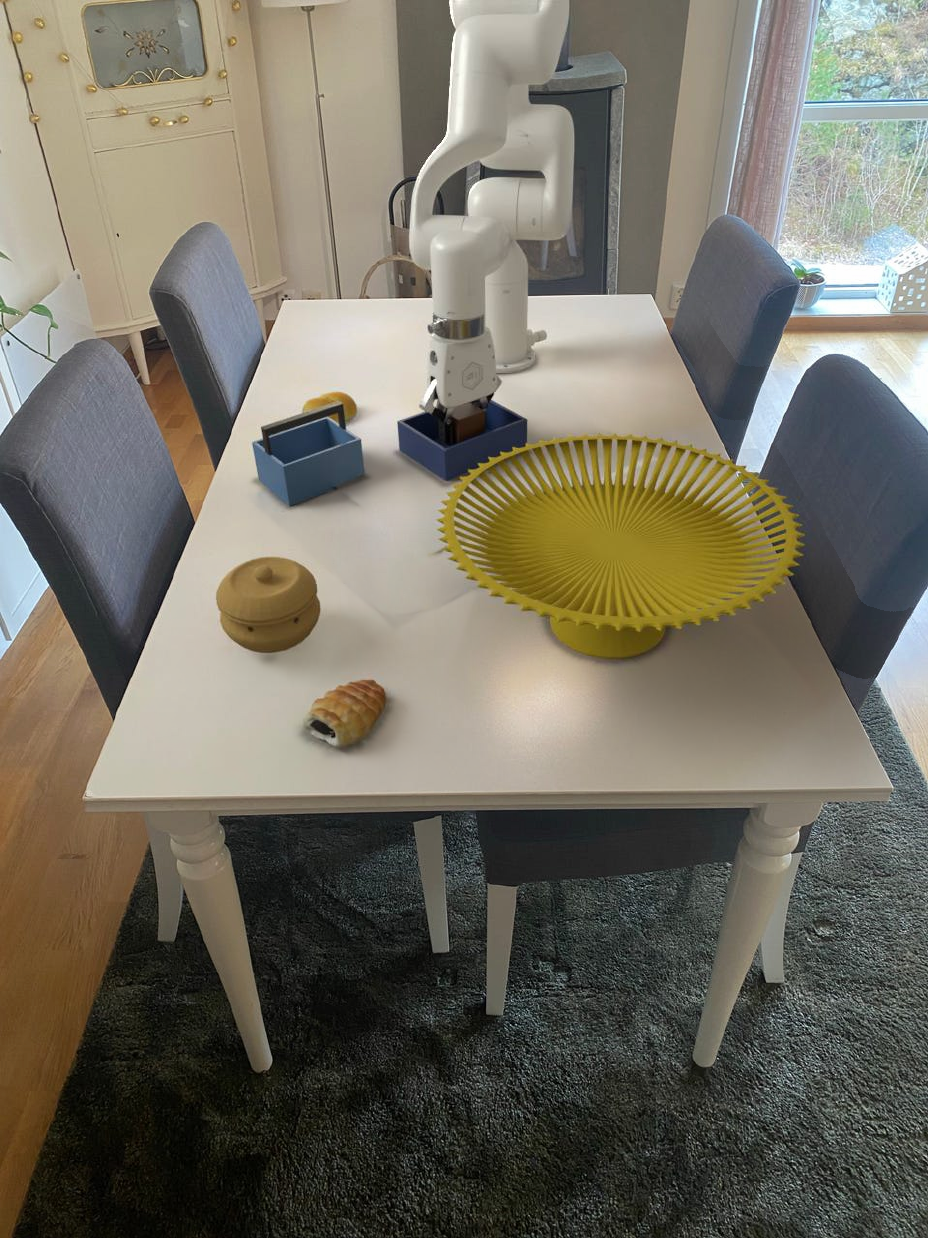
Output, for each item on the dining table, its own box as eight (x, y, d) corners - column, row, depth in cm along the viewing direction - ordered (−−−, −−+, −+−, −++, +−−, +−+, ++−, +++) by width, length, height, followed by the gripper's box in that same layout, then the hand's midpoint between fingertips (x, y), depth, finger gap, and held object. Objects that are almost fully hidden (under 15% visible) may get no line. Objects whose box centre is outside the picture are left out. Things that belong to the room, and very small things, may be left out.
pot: (221, 615, 117) (206, 549, 111) (315, 598, 119) (305, 532, 113) (230, 676, 108) (213, 607, 102) (331, 656, 110) (321, 587, 104)
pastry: (356, 682, 107) (353, 657, 104) (403, 706, 104) (401, 680, 101) (299, 732, 101) (294, 706, 98) (347, 758, 98) (344, 732, 95)
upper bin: (332, 453, 149) (324, 391, 143) (365, 477, 143) (358, 413, 136) (258, 480, 143) (247, 416, 137) (289, 506, 137) (278, 440, 130)
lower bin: (478, 423, 156) (478, 392, 153) (527, 451, 148) (527, 419, 145) (399, 453, 149) (397, 421, 145) (445, 484, 141) (444, 450, 137)
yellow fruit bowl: (806, 569, 122) (831, 466, 112) (739, 788, 93) (765, 674, 84) (516, 506, 135) (517, 410, 126) (381, 679, 107) (369, 572, 98)
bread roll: (366, 415, 160) (364, 393, 157) (326, 433, 155) (323, 411, 152) (334, 401, 164) (332, 379, 162) (294, 418, 159) (291, 396, 157)
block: (485, 440, 146) (484, 410, 143) (459, 450, 144) (458, 420, 141) (465, 428, 150) (465, 399, 147) (440, 438, 147) (438, 408, 144)
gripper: (426, 346, 129) (432, 464, 140) (521, 316, 137) (520, 430, 148) (395, 330, 134) (403, 445, 145) (489, 302, 142) (490, 414, 153)
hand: (462, 436), depth 147 cm, fingers closed on block, 5 cm apart
